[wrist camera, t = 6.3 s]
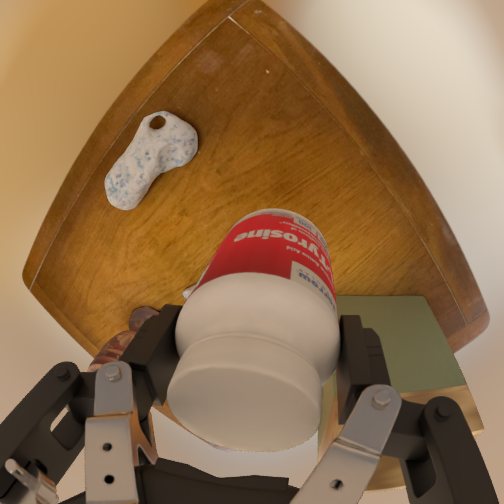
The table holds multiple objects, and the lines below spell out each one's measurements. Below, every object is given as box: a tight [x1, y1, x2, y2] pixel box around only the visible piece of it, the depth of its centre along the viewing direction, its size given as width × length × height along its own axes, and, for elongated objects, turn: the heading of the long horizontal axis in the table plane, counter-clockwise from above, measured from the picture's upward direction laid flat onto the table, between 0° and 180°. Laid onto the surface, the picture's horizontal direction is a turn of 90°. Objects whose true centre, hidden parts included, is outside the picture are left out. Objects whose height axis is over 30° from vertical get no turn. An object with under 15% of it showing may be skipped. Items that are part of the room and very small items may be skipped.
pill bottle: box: [167, 208, 341, 452], centre depth 13 cm, size 6×6×11 cm
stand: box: [318, 295, 467, 451], centre depth 32 cm, size 14×12×16 cm
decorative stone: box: [105, 111, 198, 210], centre depth 31 cm, size 13×7×5 cm, turn 138°
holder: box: [317, 385, 484, 493], centre depth 22 cm, size 14×12×6 cm
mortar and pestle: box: [87, 306, 159, 372], centre depth 36 cm, size 12×9×20 cm
